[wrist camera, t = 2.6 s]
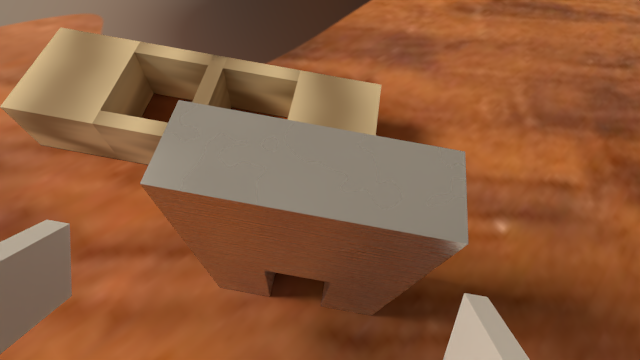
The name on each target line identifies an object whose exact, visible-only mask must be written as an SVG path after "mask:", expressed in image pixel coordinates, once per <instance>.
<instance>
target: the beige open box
mask: <svg viewBox="0 0 640 360" xmlns="http://www.w3.org/2000/svg"><path fill="white" fill-rule="evenodd" d="M380 92H381V85H379V84H373V83H368V82H362V81H357V80H351V79H345V78H340V77H334V76H329V75H323V74H317V73H312V72H306V71H301V70H295V69H289V68H284V67H278V66H273V65H267V64H262V63H256V62H250V61H245V60H239V59H234V58H228V57H222V56H216V55H211V54H206V53H200V52H194V51H189V50H183V49H177V48H172V47H167V46H161V45H155V44H150V43H144V42H139V41H133V40H127V39H121V38H116V37H111V36H105V35H99V34H94V33H88V32H83V31H77V30H72V29H66V28H60V29H59V30H58V32H57V33H56V34H55V36H54V37H53V38H52V39H51V41H50V42H49V43H48V45H47V46H46V47H45V49H44V50H43V51H42V53H41V54H40V55H39V56H38V58H37V59H36V60H35V62H34V63H33V64H32V66H31V67H30V68H29V70H28V71H27V72H26V74H25V75H24V76H23V77H22V79H21V80H20V81H19V83H18V84H17V85H16V87H15V88H14V89H13V91H12V92H11V93H10V95H9V96H8V97H7V98H6V100H5V101H4V102H3V104H2V105H1V106H0V107H1V108H2V109H3V110H4V111H5V112H6V113H7V114H8V115H9V116H10V117H12V118H13V119H14V120H15V121H16V122H17V123H18V124H19V125H20V126H21V127H22V128H23V129H24V130H25V131H26V132H28V133H29V134H30V135H31V136H32V137H33V138H34V139H35V140H36V141H37V142H38V143H39V144H40V145H43V146H49V147H54V148H60V149H65V150H71V151H76V152H82V153H87V154H93V155H98V156H104V157H109V158H115V159H120V160H125V161H131V162H136V163H142V164H147V165H149V163H150V161H151V159H152V157H153V154H154V152H155V150H156V148H157V146H158V144H159V141H160V139H161V137H162V135H163V133H164V131H165V128H166V126H167V124H168V123H167V122H162V121H156V120H150V119H145V118H141V117H142V115H143V113H144V111H145V109H146V107H147V105H148V103H149V102H150V100H151V98H152V96H153V94H154V93H155V94H160V95H166V96H171V97H177V98H182V99H188V100H193V101H192V102H193V103H198V104H204V105H209V106H215V107H220V108H226V109H231V107H232V108H238V109H243V110H249V111H254V112H260V113H265V114H271V115H276V116H282V117H287V118H288V120H292V121H298V122H303V123H309V124H315V125H320V126H326V127H331V128H337V129H342V130H348V131H353V132H359V133H364V134H370V135H375V136H376V128H377V119H378V110H379V101H380Z"/></svg>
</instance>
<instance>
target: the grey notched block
mask: <svg viewBox="0 0 640 360" xmlns="http://www.w3.org/2000/svg"><path fill="white" fill-rule="evenodd" d="M140 184H141V186H142V187H143V188H144V190H145V191H146V192H147V193H148V195H149V196H150V197H151V199H152V200H153V201H154V203H155V204H156V205H157V206H158V208H159V209H160V210H161V212H162V213H163V214H164V216H165V217H166V218H167V220H168V221H169V222H170V223H171V225H172V226H173V227H174V229H175V230H176V231H177V233H178V234H179V235H180V236H181V238H182V239H183V240H184V242H185V243H186V244H187V246H188V247H189V248H190V249H191V251H192V252H193V253H194V255H195V256H196V257H197V259H198V260H199V261H200V262H201V264H202V265H203V266H204V268H205V269H206V270H207V272H208V273H209V274H210V276H211V277H212V278H213V279H214V281H215V282H216V283H217V285H218V286H219V287H221V288H226V289H231V290H237V291H242V292H248V293H253V294H258V295H264V296H269V297H270V294H271V290H272V286H273V281H274V277H275V272H276V273H281V274H287V275H292V276H298V277H303V278H308V279H314V280H319V281H325V282H324V288H323V294H322V301H321V306H323V307H328V308H333V309H339V310H344V311H349V312H355V313H360V314H365V315H371V316H372V315H373V314H374V313H376V312H377V311H378V310H380V309H381V308H382V307H384V306H385V305H386V304H388V303H389V302H391V301H392V300H393V299H395V298H396V297H397V296H399V295H400V294H401V293H403V292H404V291H405V290H407V289H408V288H409V287H411V286H412V285H414V284H415V283H416V282H418V281H419V280H420V279H422V278H423V277H424V276H426V275H427V274H428V273H430V272H431V271H432V270H434V269H435V268H436V267H438V266H439V265H441V264H442V263H443V262H445V261H446V260H447V259H449V258H450V257H451V256H453V255H454V254H455V253H457V252H458V251H459V250H461V249H462V248H464V247H465V246H466V245H468V221H467V192H466V162H465V152H464V151H458V150H453V149H447V148H442V147H436V146H431V145H425V144H420V143H414V142H409V141H403V140H398V139H392V138H386V137H381V136H375V135H370V134H364V133H359V132H353V131H348V130H342V129H337V128H331V127H326V126H320V125H315V124H309V123H303V122H298V121H292V120H287V119H281V118H276V117H270V116H265V115H259V114H254V113H248V112H243V111H237V110H231V109H226V108H220V107H215V106H209V105H204V104H198V103H193V102H187V101H182V100H178V102H177V105H176V107H175V109H174V111H173V113H172V115H171V118H170V120H169V122H168V124H167V126H166V128H165V131H164V133H163V135H162V137H161V139H160V141H159V144H158V146H157V148H156V150H155V152H154V154H153V157H152V159H151V161H150V163H149V165H148V168H147V170H146V172H145V174H144V176H143V178H142V181H141V183H140Z"/></svg>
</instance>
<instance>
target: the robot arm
mask: <svg viewBox="0 0 640 360" xmlns="http://www.w3.org/2000/svg"><path fill="white" fill-rule="evenodd" d="M71 296H72V291H71V256H70V224H69V223H63V222H57V221H51V220H45V221H43V222H41V223H39V224H37V225H35V226H33V227H31V228H29V229H26V230H24V231H22V232H20V233H18V234H16V235H14V236H12V237H10V238H8V239H6V240H4V241H2V242H0V354H1V353H2V352H3V351H5V350H6V349H7V348H8V347H10V346H11V345H12V344H13V343H14V342H16V341H17V340H18V339H19V338H21V337H22V336H23V335H24V334H25V333H27V332H28V331H29V330H30V329H32V328H33V327H34V326H35V325H37V324H38V323H39V322H40V321H41V320H43V319H44V318H45V317H46V316H48V315H49V314H50V313H51V312H52V311H54V310H55V309H56V308H57V307H59V306H60V305H61V304H62V303H64V302H65V301H66V300H67V299H68V298H70V297H71ZM443 360H530V359H529V358H528V357H527V355H526V354H525V352H524V351H523V349H522V348H521V346H520V345H519V343H518V342H517V340H516V339H515V337H514V336H513V334H512V333H511V331H510V330H509V328H508V327H507V325H506V324H505V322H504V321H503V319H502V318H501V316H500V315H499V313H498V312H497V310H496V309H495V307H494V306H493V304H492V303H491V301H490V300H489V298H488V297H485V296H479V295H473V294H468V293H464V295H463V299H462V302H461V305H460V308H459V311H458V314H457V318H456V321H455V324H454V327H453V330H452V333H451V337H450V340H449V343H448V346H447V349H446V352H445V356H444V359H443Z"/></svg>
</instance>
